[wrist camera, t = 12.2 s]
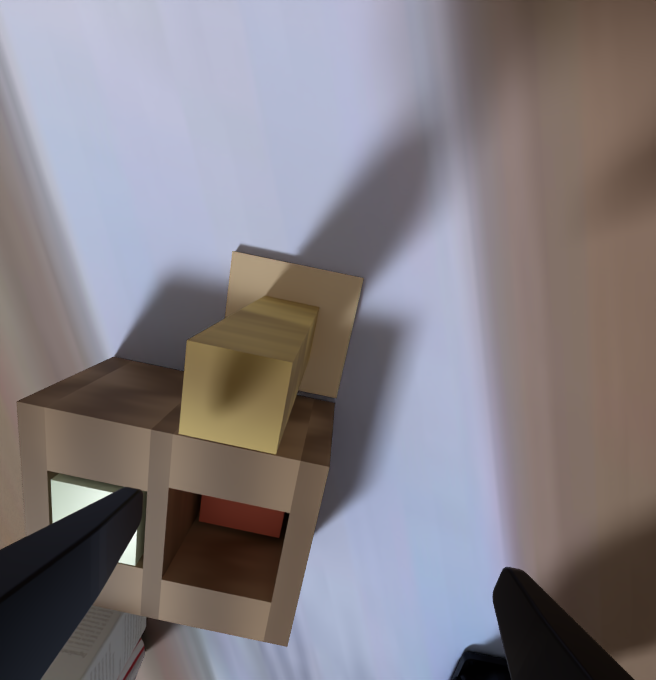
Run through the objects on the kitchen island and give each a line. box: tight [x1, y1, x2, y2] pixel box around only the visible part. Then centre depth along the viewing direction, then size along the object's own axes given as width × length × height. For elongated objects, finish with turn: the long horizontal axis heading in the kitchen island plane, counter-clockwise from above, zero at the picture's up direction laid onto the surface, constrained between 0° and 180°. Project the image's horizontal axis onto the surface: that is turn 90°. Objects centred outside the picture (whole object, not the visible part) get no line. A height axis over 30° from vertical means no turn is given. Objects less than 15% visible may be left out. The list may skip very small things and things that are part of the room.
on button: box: [51, 473, 147, 566], centre depth 17 cm, size 4×4×3 cm
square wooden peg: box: [179, 296, 319, 454], centre depth 14 cm, size 3×3×9 cm
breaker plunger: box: [199, 495, 285, 538], centre depth 20 cm, size 5×5×2 cm
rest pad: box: [225, 251, 364, 398], centre depth 18 cm, size 7×7×1 cm
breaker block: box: [17, 357, 335, 647], centre depth 18 cm, size 14×11×6 cm
